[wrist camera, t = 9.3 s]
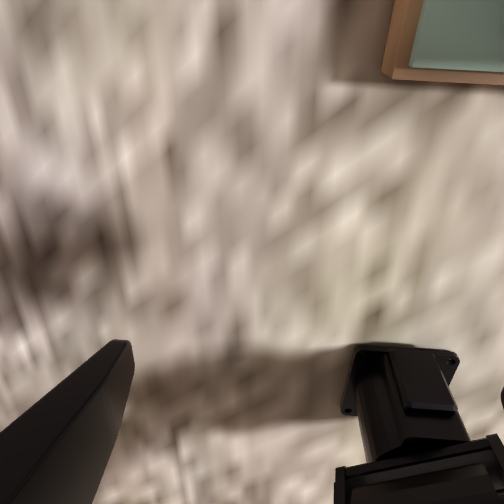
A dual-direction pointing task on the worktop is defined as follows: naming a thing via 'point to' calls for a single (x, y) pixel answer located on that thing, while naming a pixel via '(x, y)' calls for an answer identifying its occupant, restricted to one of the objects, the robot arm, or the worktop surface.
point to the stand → (446, 41)
